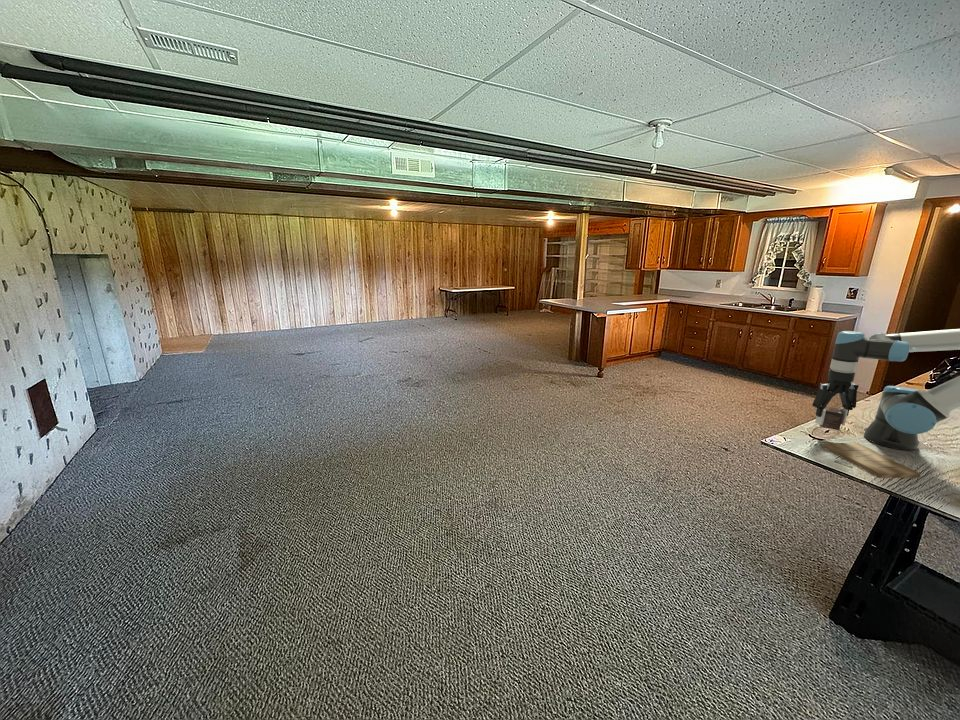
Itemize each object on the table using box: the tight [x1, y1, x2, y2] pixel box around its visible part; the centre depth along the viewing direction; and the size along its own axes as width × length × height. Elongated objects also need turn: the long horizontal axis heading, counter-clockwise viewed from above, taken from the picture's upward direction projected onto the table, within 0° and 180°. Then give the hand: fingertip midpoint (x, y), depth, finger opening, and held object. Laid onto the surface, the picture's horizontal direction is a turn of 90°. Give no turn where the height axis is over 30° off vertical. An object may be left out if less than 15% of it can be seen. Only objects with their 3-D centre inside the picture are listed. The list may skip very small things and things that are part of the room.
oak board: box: [821, 442, 922, 479], centre depth 138 cm, size 14×22×2 cm, turn 0°
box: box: [819, 406, 843, 431], centre depth 153 cm, size 6×6×7 cm
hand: (829, 423), depth 154 cm, fingers closed on box, 8 cm apart
